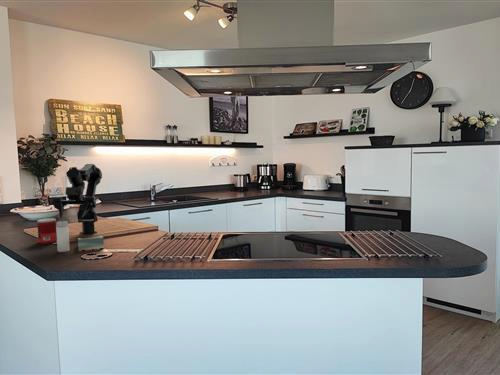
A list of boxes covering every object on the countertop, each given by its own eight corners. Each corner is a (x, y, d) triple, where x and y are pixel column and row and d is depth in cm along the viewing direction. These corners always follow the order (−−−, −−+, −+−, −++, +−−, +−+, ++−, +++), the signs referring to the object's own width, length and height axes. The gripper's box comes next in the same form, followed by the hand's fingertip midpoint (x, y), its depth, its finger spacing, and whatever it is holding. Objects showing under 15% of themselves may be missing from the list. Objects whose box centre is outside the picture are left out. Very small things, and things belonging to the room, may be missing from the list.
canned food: (60, 240, 183) (59, 218, 182) (45, 244, 176) (44, 221, 175) (50, 239, 186) (48, 217, 185) (35, 243, 179) (33, 220, 178)
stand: (78, 245, 174) (77, 234, 174) (102, 243, 179) (101, 232, 178) (78, 251, 165) (78, 239, 164) (103, 248, 169) (103, 237, 168)
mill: (55, 250, 165) (53, 222, 164) (66, 248, 169) (64, 220, 168) (61, 252, 162) (59, 223, 161) (71, 250, 166) (70, 221, 165)
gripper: (51, 180, 174) (44, 208, 165) (93, 180, 177) (88, 206, 167) (58, 194, 183) (51, 221, 173) (98, 194, 185) (93, 220, 176)
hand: (71, 217), depth 172 cm, fingers open, 9 cm apart
